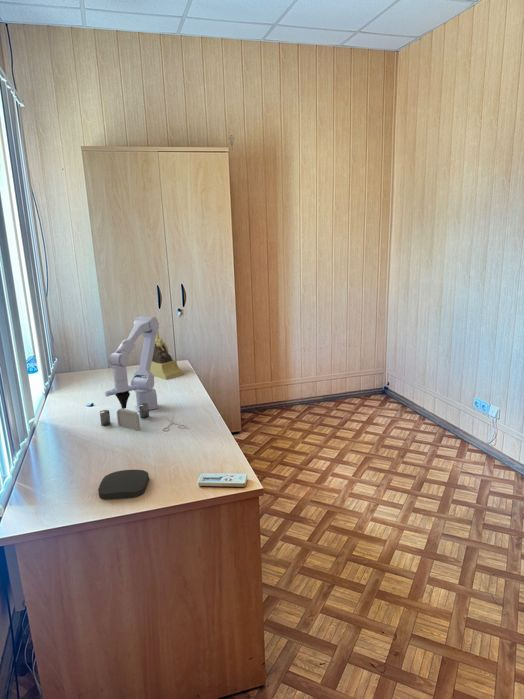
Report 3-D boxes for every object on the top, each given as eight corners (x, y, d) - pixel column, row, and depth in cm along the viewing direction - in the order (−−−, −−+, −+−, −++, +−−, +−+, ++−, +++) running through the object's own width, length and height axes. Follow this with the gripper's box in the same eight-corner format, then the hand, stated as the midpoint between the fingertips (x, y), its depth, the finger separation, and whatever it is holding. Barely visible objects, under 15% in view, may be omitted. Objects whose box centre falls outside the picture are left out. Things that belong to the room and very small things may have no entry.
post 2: (148, 415, 217) (147, 402, 215) (150, 417, 213) (148, 405, 212) (139, 416, 215) (138, 404, 214) (141, 419, 211) (139, 406, 210)
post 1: (110, 422, 210) (108, 409, 208) (111, 425, 206) (109, 412, 205) (100, 423, 208) (99, 410, 207) (101, 426, 205) (100, 413, 203)
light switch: (137, 431, 199) (135, 413, 197) (118, 425, 205) (116, 408, 203) (140, 429, 200) (138, 412, 198) (121, 424, 206) (119, 407, 205)
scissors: (163, 432, 195) (157, 416, 214) (163, 434, 196) (157, 417, 214) (188, 428, 199) (180, 412, 217) (188, 430, 199) (180, 414, 217)
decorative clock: (184, 374, 280) (180, 325, 273) (166, 380, 271) (161, 328, 264) (156, 367, 299) (152, 320, 292) (139, 371, 290) (134, 323, 283)
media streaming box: (143, 498, 147) (142, 489, 146) (96, 501, 146) (94, 493, 145) (150, 475, 161) (150, 467, 160) (107, 478, 160) (106, 470, 159)
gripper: (132, 373, 215) (135, 401, 218) (101, 380, 207) (104, 409, 210) (139, 377, 210) (141, 405, 213) (107, 384, 201) (110, 413, 204)
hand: (123, 408), depth 211 cm, fingers closed
